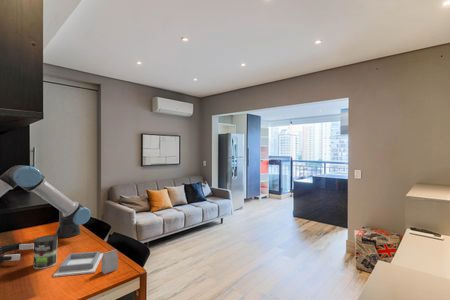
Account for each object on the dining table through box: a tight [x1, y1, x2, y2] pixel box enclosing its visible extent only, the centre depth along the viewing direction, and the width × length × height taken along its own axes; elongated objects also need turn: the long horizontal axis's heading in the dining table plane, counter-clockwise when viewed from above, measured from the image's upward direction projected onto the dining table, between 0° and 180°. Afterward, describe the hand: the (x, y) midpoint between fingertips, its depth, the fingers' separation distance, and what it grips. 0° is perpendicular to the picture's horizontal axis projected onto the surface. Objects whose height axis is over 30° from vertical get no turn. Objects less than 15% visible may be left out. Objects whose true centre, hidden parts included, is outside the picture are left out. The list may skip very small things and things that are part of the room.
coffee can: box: [32, 234, 59, 270], centre depth 128 cm, size 10×10×14 cm
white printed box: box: [100, 248, 119, 275], centre depth 124 cm, size 4×7×10 cm, turn 138°
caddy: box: [52, 251, 104, 278], centre depth 129 cm, size 22×18×3 cm
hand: (27, 251), depth 125 cm, fingers open, 13 cm apart
